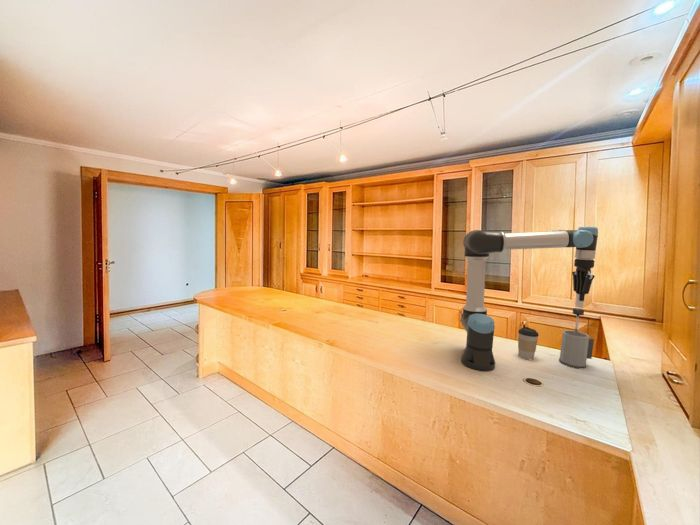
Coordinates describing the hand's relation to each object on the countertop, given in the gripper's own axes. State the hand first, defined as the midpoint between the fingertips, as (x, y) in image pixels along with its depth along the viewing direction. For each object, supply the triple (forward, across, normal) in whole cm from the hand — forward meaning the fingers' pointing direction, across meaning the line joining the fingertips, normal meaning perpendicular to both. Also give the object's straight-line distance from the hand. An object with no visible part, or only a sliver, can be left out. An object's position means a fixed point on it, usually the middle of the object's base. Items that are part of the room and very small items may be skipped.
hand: (579, 306), depth 145 cm
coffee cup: (+29, +4, +20) cm, 36 cm away
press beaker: (+29, 0, -1) cm, 29 cm away
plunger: (+16, 0, 0) cm, 16 cm away
